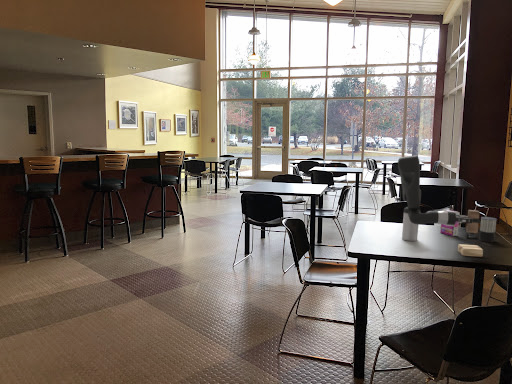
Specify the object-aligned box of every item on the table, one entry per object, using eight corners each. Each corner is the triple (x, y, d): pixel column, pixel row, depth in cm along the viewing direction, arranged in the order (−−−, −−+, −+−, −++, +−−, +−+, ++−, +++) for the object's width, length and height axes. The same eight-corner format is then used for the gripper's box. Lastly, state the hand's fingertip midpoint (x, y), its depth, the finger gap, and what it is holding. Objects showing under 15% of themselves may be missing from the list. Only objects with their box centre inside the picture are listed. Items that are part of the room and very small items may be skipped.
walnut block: (466, 230, 236) (468, 209, 234) (474, 231, 235) (476, 210, 233) (468, 232, 231) (470, 211, 230) (477, 233, 230) (479, 211, 229)
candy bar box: (458, 236, 281) (460, 212, 279) (452, 236, 279) (454, 212, 277) (445, 232, 291) (447, 209, 289) (439, 232, 289) (441, 209, 287)
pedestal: (457, 250, 241) (458, 244, 240) (476, 252, 239) (477, 245, 238) (462, 255, 231) (463, 248, 230) (482, 256, 229) (483, 249, 228)
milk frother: (497, 242, 265) (500, 219, 264) (473, 241, 265) (475, 218, 264) (485, 237, 279) (487, 215, 278) (462, 236, 279) (464, 214, 278)
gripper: (449, 213, 227) (483, 215, 224) (443, 209, 241) (474, 211, 238) (448, 226, 228) (482, 229, 225) (441, 222, 242) (473, 224, 239)
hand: (478, 220), depth 232 cm, fingers closed on walnut block, 4 cm apart
